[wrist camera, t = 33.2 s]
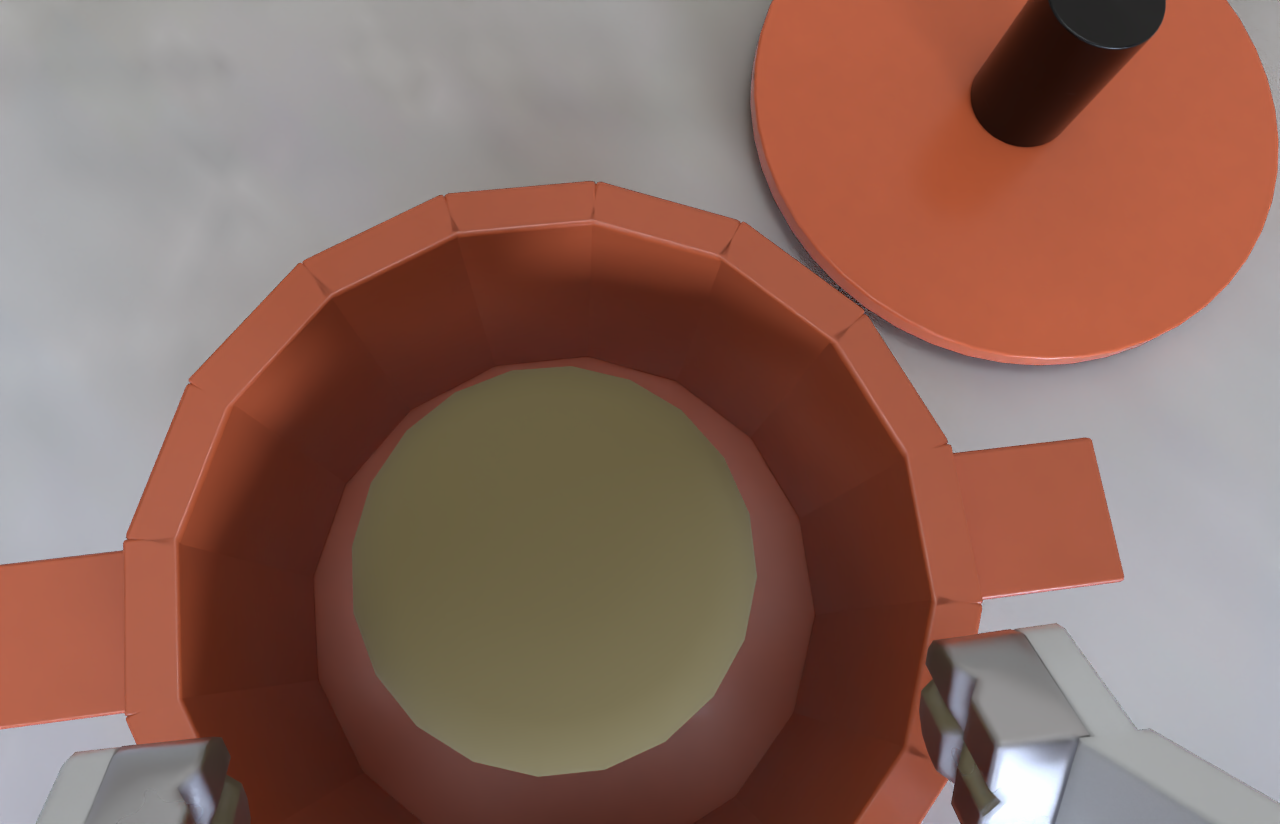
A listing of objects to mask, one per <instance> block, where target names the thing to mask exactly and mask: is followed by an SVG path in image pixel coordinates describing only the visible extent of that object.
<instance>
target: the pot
mask: <svg viewBox="0 0 1280 824" xmlns="http://www.w3.org/2000/svg"><path fill="white" fill-rule="evenodd" d="M864 312H865V311H864V309H862V308H861V307H860V306H858V305H857V304H856V303H854V302H853V301H852V300H850V299H849V298H847V297H846V296H845V295H843V294H842V293H841V292H839V291H838V290H837V289H835V288H834V287H832V286H831V285H830V284H828V283H827V282H826V281H824V280H823V279H822V278H820V277H819V276H818V275H816V274H815V273H813V272H812V271H811V270H809V269H808V268H807V267H805V266H804V265H803V264H801V263H800V262H798V261H797V260H796V259H794V258H793V257H792V256H790V255H789V254H788V253H786V252H785V251H783V250H782V249H781V248H779V247H778V246H777V245H775V244H774V243H773V242H771V241H770V240H769V239H767V238H766V237H764V236H763V235H762V234H760V233H759V232H758V231H756V230H755V229H754V228H752V227H751V226H749V225H748V224H747V223H745V222H742V223H740V221H738V220H736V219H732V218H729V217H725V216H722V215H718V214H714V213H711V212H707V211H704V210H700V209H696V208H693V207H689V206H686V205H682V204H679V203H675V202H671V201H668V200H664V199H661V198H657V197H653V196H650V195H646V194H643V193H639V192H635V191H632V190H628V189H625V188H621V187H618V186H614V185H610V184H607V183H603V182H597V184H595V182H593V181H585V182H573V183H562V184H550V185H539V186H528V187H516V188H505V189H494V190H482V191H471V192H460V193H448V194H446V195H445V197H444V196H443V195H439V196H437V197H435V198H433V199H431V200H428V201H426V202H424V203H422V204H420V205H418V206H416V207H414V208H412V209H410V210H408V211H406V212H403V213H401V214H399V215H397V216H395V217H393V218H391V219H389V220H387V221H385V222H383V223H381V224H378V225H376V226H374V227H372V228H370V229H368V230H366V231H364V232H362V233H360V234H358V235H356V236H353V237H351V238H349V239H347V240H345V241H343V242H341V243H339V244H337V245H335V246H333V247H331V248H328V249H326V250H324V251H322V252H320V253H318V254H316V255H314V256H312V257H310V258H308V259H306V260H304V261H303V264H302V263H299V264H297V266H296V267H295V268H294V269H293V270H292V271H291V272H290V273H289V274H288V275H287V276H286V277H285V278H284V279H283V280H282V281H281V282H280V283H279V284H278V286H277V287H276V288H275V289H274V290H273V291H272V292H271V293H270V294H269V295H268V296H267V297H266V298H265V299H264V300H263V301H262V302H261V303H260V305H259V306H258V307H257V308H256V309H255V310H254V311H253V312H252V313H251V314H250V315H249V316H248V317H247V318H246V319H245V320H244V321H243V322H242V324H241V325H240V326H239V327H238V328H237V329H236V330H235V331H234V332H233V333H232V334H231V335H230V336H229V337H228V338H227V339H226V340H225V341H224V342H223V344H222V345H221V346H220V347H219V348H218V349H217V350H216V351H215V352H214V353H213V354H212V355H211V356H210V357H209V358H208V359H207V360H206V361H205V363H204V364H203V365H202V366H201V367H200V368H199V369H198V370H197V371H196V372H195V373H194V374H193V375H192V376H191V377H190V378H189V382H190V383H191V384H188V385H187V386H186V388H185V390H184V393H183V395H182V398H181V400H180V403H179V405H178V408H177V410H176V413H175V415H174V418H173V420H172V423H171V425H170V428H169V430H168V432H167V435H166V437H165V440H164V442H163V445H162V447H161V450H160V452H159V455H158V457H157V460H156V462H155V465H154V467H153V470H152V472H151V475H150V477H149V480H148V482H147V484H146V487H145V489H144V492H143V494H142V497H141V499H140V502H139V504H138V507H137V509H136V512H135V514H134V517H133V519H132V522H131V524H130V527H129V529H128V531H127V534H126V538H127V540H125V541H124V543H123V550H122V551H114V552H105V553H97V554H88V555H80V556H71V557H63V558H54V559H46V560H37V561H29V562H20V563H12V564H3V565H0V729H7V728H14V727H22V726H30V725H37V724H45V723H52V722H60V721H68V720H75V719H83V718H90V717H98V716H105V715H113V714H121V713H125V715H126V716H127V718H126V721H127V724H128V726H129V728H130V730H131V733H132V735H133V737H134V739H135V742H136V744H137V745H139V744H148V743H157V742H167V741H176V740H185V739H195V738H204V737H222V739H223V741H224V743H225V745H226V747H227V750H228V752H229V754H230V756H231V759H230V762H229V766H228V770H227V773H226V774H227V775H228V776H230V777H232V778H234V779H235V780H237V781H239V782H240V783H242V785H243V788H244V790H245V793H246V796H247V798H248V804H249V810H250V816H251V823H250V824H920V823H921V822H922V820H923V819H924V817H925V816H926V814H927V812H928V811H929V809H930V808H931V806H932V805H933V803H934V802H935V800H936V798H937V797H938V795H939V794H940V792H941V791H942V789H943V787H944V786H945V784H946V783H947V781H948V780H949V779H947V778H946V777H944V776H943V775H942V774H940V773H939V772H937V771H936V770H935V767H934V765H933V763H932V761H931V758H930V756H929V754H928V752H927V748H926V745H925V742H924V739H923V735H922V730H921V722H920V714H919V707H920V698H921V690H922V689H923V688H924V687H925V686H926V685H927V684H928V683H929V682H930V681H931V680H932V679H933V678H932V676H931V674H930V672H929V670H928V668H927V666H926V664H925V663H926V657H927V651H928V648H929V646H930V644H931V643H932V641H933V640H939V639H946V638H953V637H960V636H967V635H974V634H978V629H979V623H980V618H981V612H982V605H981V603H982V601H983V600H985V599H993V598H1001V597H1008V596H1016V595H1023V594H1031V593H1039V592H1046V591H1054V590H1061V589H1069V588H1077V587H1084V586H1092V585H1099V584H1107V583H1114V582H1121V581H1122V580H1124V574H1123V570H1122V566H1121V561H1120V557H1119V553H1118V549H1117V545H1116V540H1115V536H1114V532H1113V528H1112V524H1111V519H1110V515H1109V511H1108V507H1107V503H1106V498H1105V494H1104V490H1103V486H1102V481H1101V477H1100V473H1099V469H1098V465H1097V460H1096V456H1095V452H1094V448H1093V444H1092V440H1091V439H1090V438H1079V439H1070V440H1062V441H1053V442H1045V443H1036V444H1028V445H1019V446H1011V447H1002V448H994V449H985V450H977V451H968V452H960V453H953V452H952V447H951V445H949V444H947V443H948V441H947V438H946V437H945V435H944V434H943V432H942V430H941V429H940V427H939V426H938V424H937V423H936V421H935V420H934V418H933V416H932V415H931V413H930V412H929V410H928V409H927V407H926V406H925V404H924V402H923V401H922V399H921V398H920V396H919V395H918V393H917V392H916V390H915V388H914V387H913V385H912V384H911V382H910V381H909V379H908V378H907V376H906V375H905V373H904V371H903V370H902V368H901V367H900V365H899V364H898V362H897V361H896V359H895V357H894V356H893V354H892V353H891V351H890V350H889V348H888V347H887V345H886V343H885V342H884V340H883V339H882V337H881V336H880V334H879V333H878V331H877V329H876V328H875V326H874V325H873V323H872V322H871V320H870V319H869V317H868V316H867V315H866V314H864ZM566 366H574V367H578V368H582V369H586V370H591V371H595V372H599V373H603V374H608V375H612V376H616V377H620V378H625V379H629V380H631V381H633V382H635V383H636V384H638V385H640V386H642V387H643V388H645V389H647V390H648V391H650V392H652V393H653V394H655V395H657V396H658V397H660V398H662V399H663V400H665V401H667V402H669V403H670V404H672V405H674V406H675V407H677V408H679V409H680V410H682V411H683V412H684V413H685V414H686V416H687V417H688V418H689V419H690V420H691V421H692V422H693V423H694V425H695V426H696V427H697V428H698V429H699V430H700V431H701V432H702V433H703V435H704V436H705V437H706V438H707V439H708V440H709V441H710V442H711V443H712V445H713V446H714V447H715V448H716V449H717V450H718V451H719V452H720V454H721V455H722V456H723V457H724V458H725V461H726V463H727V465H728V467H729V469H730V472H731V474H732V476H733V478H734V480H735V483H736V485H737V487H738V489H739V492H740V494H741V496H742V498H743V500H744V503H745V505H746V507H747V509H748V511H749V514H750V521H751V529H752V538H753V546H754V555H755V563H756V572H757V580H756V585H755V590H754V595H753V600H752V605H751V611H750V616H749V621H748V626H747V631H746V636H745V640H744V642H743V644H742V646H741V647H740V649H739V651H738V653H737V655H736V657H735V658H734V660H733V662H732V664H731V666H730V668H729V669H728V671H727V673H726V675H725V677H724V678H723V680H722V682H721V684H720V686H719V688H718V689H717V691H716V693H715V695H714V697H713V698H712V699H710V700H709V701H708V702H707V703H706V704H705V705H704V706H703V707H702V708H701V709H700V710H699V711H698V712H697V713H696V714H694V715H693V716H692V717H691V718H690V719H689V720H688V721H687V722H686V723H685V724H684V725H683V726H682V727H681V728H679V729H678V730H677V731H676V732H675V733H674V734H673V735H672V736H671V737H670V738H669V739H668V740H667V741H666V742H664V743H662V744H660V745H657V746H655V747H653V748H651V749H649V750H647V751H644V752H642V753H640V754H638V755H636V756H634V757H631V758H629V759H627V760H625V761H623V762H621V763H618V764H616V765H614V766H612V767H610V768H607V769H605V770H598V771H589V772H579V773H570V774H560V775H551V776H541V777H537V776H532V775H528V774H524V773H520V772H515V771H511V770H507V769H502V768H498V767H494V766H489V765H485V764H481V763H476V762H473V761H471V760H470V759H468V758H466V757H465V756H463V755H462V754H460V753H458V752H457V751H455V750H454V749H452V748H451V747H449V746H447V745H446V744H444V743H443V742H441V741H439V740H438V739H436V738H435V737H433V736H431V735H430V734H428V733H427V732H425V731H424V730H422V729H420V728H419V727H417V726H416V725H415V723H414V722H413V721H412V720H411V718H410V717H409V716H408V715H407V713H406V712H405V711H404V710H403V708H402V707H401V706H400V705H399V703H398V702H397V701H396V700H395V698H394V697H393V696H392V695H391V693H390V692H389V691H388V690H387V688H386V687H385V686H384V685H383V683H382V682H381V681H380V680H379V678H378V677H377V676H376V674H375V672H374V669H373V666H372V663H371V660H370V658H369V655H368V652H367V649H366V647H365V644H364V641H363V638H362V635H361V633H360V630H359V627H358V624H357V622H356V619H355V616H354V613H353V577H352V545H353V541H354V538H355V534H356V531H357V528H358V524H359V521H360V518H361V514H362V511H363V508H364V504H365V501H366V498H367V494H368V491H369V487H370V484H371V482H372V481H373V479H374V478H375V476H376V475H377V473H378V472H379V470H380V469H381V467H382V466H383V464H384V463H385V461H386V460H387V459H388V457H389V456H390V454H391V453H392V451H393V450H394V448H395V447H396V445H397V444H398V442H399V441H400V439H401V438H402V436H403V435H404V433H405V432H406V431H407V430H408V429H409V428H411V427H412V426H413V425H414V424H416V423H417V422H418V421H419V420H421V419H422V418H423V417H424V416H426V415H427V414H428V413H430V412H431V411H432V410H433V409H435V408H436V407H437V406H438V405H440V404H441V403H442V402H443V401H445V400H446V399H447V398H448V397H450V396H451V395H452V394H453V393H455V392H457V391H460V390H462V389H465V388H468V387H470V386H473V385H475V384H478V383H480V382H483V381H486V380H488V379H491V378H493V377H496V376H498V375H501V374H504V373H506V372H509V371H511V370H524V369H538V368H552V367H566Z"/></svg>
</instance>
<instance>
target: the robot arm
mask: <svg viewBox="0 0 1280 824" xmlns="http://www.w3.org/2000/svg"><path fill="white" fill-rule="evenodd" d="M925 664H926V666H927V668H928V670H929V672H930V674H931V676H932V678H933V679H932V680H931V681H930V682H929V683H928V684H927V685H926V686H925V687H924V688H923V689H922V690H921V698H920V707H919V714H920V722H921V730H922V735H923V739H924V742H925V745H926V748H927V752H928V754H929V756H930V758H931V761H932V763H933V765H934V767H935V770H936V771H937V772H939V773H940V774H942V775H943V776H944V777H946V778H947V779H949V780H950V781H951V782H953V783H954V784H955V785H954V791H953V796H952V802H951V804H952V806H953V808H954V810H955V813H956V815H957V817H958V819H959V821H960V823H961V824H1280V803H1278V802H1276V801H1275V800H1273V799H1271V798H1270V797H1268V796H1266V795H1264V794H1263V793H1261V792H1259V791H1257V790H1256V789H1254V788H1252V787H1250V786H1249V785H1247V784H1245V783H1244V782H1242V781H1240V780H1238V779H1237V778H1235V777H1233V776H1231V775H1230V774H1228V773H1226V772H1225V771H1223V770H1221V769H1219V768H1218V767H1216V766H1214V765H1212V764H1211V763H1209V762H1207V761H1205V760H1204V759H1202V758H1200V757H1199V756H1197V755H1195V754H1193V753H1192V752H1190V751H1188V750H1186V749H1185V748H1183V747H1181V746H1180V745H1178V744H1176V743H1174V742H1173V741H1171V740H1169V739H1167V738H1166V737H1164V736H1162V735H1161V734H1159V733H1157V732H1155V731H1154V730H1152V729H1142V730H1137V728H1136V727H1135V725H1134V724H1133V723H1132V721H1131V720H1130V718H1129V717H1128V716H1127V714H1126V713H1125V711H1124V710H1123V709H1122V707H1121V706H1120V704H1119V703H1118V702H1117V700H1116V699H1115V697H1114V696H1113V695H1112V693H1111V692H1110V691H1109V689H1108V688H1107V686H1106V685H1105V684H1104V682H1103V681H1102V679H1101V678H1100V677H1099V675H1098V674H1097V672H1096V671H1095V670H1094V668H1093V667H1092V665H1091V664H1090V663H1089V661H1088V660H1087V658H1086V657H1085V656H1084V654H1083V653H1082V652H1081V650H1080V649H1079V647H1078V646H1077V645H1076V643H1075V642H1074V640H1073V639H1072V638H1071V636H1070V635H1069V633H1068V632H1067V631H1066V629H1065V628H1063V627H1061V626H1060V625H1058V624H1057V623H1055V624H1048V625H1041V626H1033V627H1026V628H1019V629H1015V630H1011V629H1009V630H1002V631H995V632H988V633H981V634H974V635H967V636H960V637H953V638H946V639H939V640H933V641H932V643H931V644H930V646H929V648H928V651H927V657H926V663H925ZM230 759H231V756H230V754H229V752H228V750H227V747H226V745H225V743H224V741H223V739H222V737H204V738H195V739H185V740H176V741H167V742H157V743H148V744H139V745H129V746H122V747H116V748H107V749H99V750H90V751H81V752H75V753H74V754H73V755H72V756H71V757H70V758H69V759H68V760H67V761H66V762H65V763H64V764H63V765H62V767H61V769H60V771H59V773H58V776H57V778H56V780H55V782H54V784H53V786H52V789H51V791H50V793H49V795H48V797H47V799H46V802H45V804H44V806H43V808H42V810H41V813H40V815H39V817H38V819H37V821H36V823H35V824H250V823H251V816H250V810H249V804H248V798H247V796H246V793H245V790H244V788H243V785H242V783H240V782H239V781H237V780H235V779H234V778H232V777H230V776H228V775H227V774H226V773H227V770H228V766H229V762H230Z"/></svg>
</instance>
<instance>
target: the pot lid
mask: <svg viewBox="0 0 1280 824" xmlns="http://www.w3.org/2000/svg"><path fill="white" fill-rule="evenodd" d="M750 107H751V116H752V125H753V134H754V140H755V144H756V148H757V152H758V156H759V160H760V164H761V167H762V170H763V173H764V175H765V178H766V180H767V183H768V185H769V188H770V190H771V193H772V195H773V198H774V200H775V202H776V204H777V206H778V207H779V209H780V211H781V213H782V214H783V216H784V218H785V220H786V221H787V223H788V225H789V227H790V229H791V230H792V232H793V233H794V234H795V236H796V237H797V238H798V240H799V241H800V242H801V244H802V245H803V246H804V248H805V249H806V250H807V252H808V253H809V254H810V256H811V257H812V259H813V260H814V261H815V262H816V263H817V264H818V265H819V266H820V267H821V268H822V269H823V270H824V271H825V272H826V273H827V274H828V275H829V276H830V277H831V278H832V279H833V280H834V282H835V283H836V284H837V285H838V286H840V287H841V288H842V289H843V290H845V291H846V292H847V293H848V294H850V295H851V296H852V297H853V298H854V299H856V300H857V301H858V302H859V303H861V304H862V305H863V306H864V307H865V308H867V309H868V310H870V311H872V312H873V313H875V314H876V315H878V316H880V317H881V318H883V319H884V320H886V321H887V322H889V323H891V324H892V325H894V326H895V327H897V328H899V329H901V330H903V331H905V332H907V333H909V334H912V335H914V336H916V337H918V338H920V339H922V340H924V341H926V342H928V343H930V344H933V345H936V346H939V347H942V348H945V349H948V350H951V351H954V352H957V353H960V354H963V355H967V356H972V357H976V358H981V359H986V360H991V361H996V362H1001V363H1013V364H1026V365H1054V364H1073V363H1078V362H1083V361H1089V360H1094V359H1099V358H1105V357H1108V356H1111V355H1114V354H1117V353H1120V352H1123V351H1126V350H1129V349H1132V348H1135V347H1138V346H1140V345H1142V344H1144V343H1146V342H1148V341H1150V340H1152V339H1154V338H1156V337H1158V336H1160V335H1162V334H1164V333H1166V332H1168V331H1170V330H1172V329H1173V328H1175V327H1177V326H1179V325H1180V324H1182V323H1183V322H1185V321H1186V320H1187V319H1189V318H1190V317H1192V316H1193V315H1194V314H1196V313H1197V312H1199V311H1200V310H1201V309H1203V308H1204V307H1206V306H1207V305H1208V304H1209V303H1210V302H1211V301H1212V300H1213V299H1214V298H1215V297H1216V296H1217V295H1218V294H1219V293H1220V292H1221V291H1222V290H1223V289H1224V288H1225V287H1226V286H1227V285H1228V284H1229V283H1230V281H1231V280H1232V279H1233V277H1234V276H1235V275H1236V273H1237V272H1238V271H1239V269H1240V268H1241V267H1242V265H1243V264H1244V263H1245V261H1246V260H1247V258H1248V256H1249V254H1250V253H1251V251H1252V249H1253V247H1254V245H1255V243H1256V241H1257V239H1258V237H1259V236H1260V234H1261V232H1262V229H1263V226H1264V223H1265V221H1266V218H1267V215H1268V212H1269V209H1270V206H1271V203H1272V199H1273V193H1274V188H1275V182H1276V177H1277V170H1278V131H1277V122H1276V113H1275V107H1274V103H1273V99H1272V95H1271V91H1270V87H1269V83H1268V79H1267V76H1266V74H1265V71H1264V68H1263V66H1262V63H1261V61H1260V58H1259V55H1258V53H1257V50H1256V48H1255V46H1254V44H1253V43H1252V41H1251V39H1250V37H1249V35H1248V33H1247V31H1246V29H1245V28H1244V26H1243V24H1242V22H1241V20H1240V19H1239V17H1238V16H1237V15H1236V13H1235V12H1234V10H1233V9H1232V7H1231V6H1230V5H1229V3H1228V2H1227V0H773V1H772V3H771V4H770V7H769V10H768V13H767V16H766V18H765V21H764V24H763V27H762V30H761V33H760V36H759V39H758V43H757V47H756V53H755V58H754V63H753V69H752V74H751V101H750Z"/></svg>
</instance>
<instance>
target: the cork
mask: <svg viewBox="0 0 1280 824" xmlns="http://www.w3.org/2000/svg"><path fill="white" fill-rule="evenodd" d="M352 577H353V613H354V616H355V619H356V622H357V624H358V627H359V630H360V633H361V635H362V638H363V641H364V644H365V647H366V649H367V652H368V655H369V658H370V660H371V663H372V666H373V669H374V672H375V674H376V676H377V677H378V678H379V680H380V681H381V682H382V683H383V685H384V686H385V687H386V688H387V690H388V691H389V692H390V693H391V695H392V696H393V697H394V698H395V700H396V701H397V702H398V703H399V705H400V706H401V707H402V708H403V710H404V711H405V712H406V713H407V715H408V716H409V717H410V718H411V720H412V721H413V722H414V723H415V725H416V726H417V727H419V728H420V729H422V730H424V731H425V732H427V733H428V734H430V735H431V736H433V737H435V738H436V739H438V740H439V741H441V742H443V743H444V744H446V745H447V746H449V747H451V748H452V749H454V750H455V751H457V752H458V753H460V754H462V755H463V756H465V757H466V758H468V759H470V760H471V761H473V762H476V763H481V764H485V765H489V766H494V767H498V768H502V769H507V770H511V771H515V772H520V773H524V774H528V775H532V776H537V777H541V776H551V775H560V774H570V773H579V772H589V771H598V770H605V769H607V768H610V767H612V766H614V765H616V764H618V763H621V762H623V761H625V760H627V759H629V758H631V757H634V756H636V755H638V754H640V753H642V752H644V751H647V750H649V749H651V748H653V747H655V746H657V745H660V744H662V743H664V742H666V741H667V740H668V739H669V738H670V737H671V736H672V735H673V734H674V733H675V732H676V731H677V730H678V729H679V728H681V727H682V726H683V725H684V724H685V723H686V722H687V721H688V720H689V719H690V718H691V717H692V716H693V715H694V714H696V713H697V712H698V711H699V710H700V709H701V708H702V707H703V706H704V705H705V704H706V703H707V702H708V701H709V700H710V699H712V698H713V697H714V695H715V693H716V691H717V689H718V688H719V686H720V684H721V682H722V680H723V678H724V677H725V675H726V673H727V671H728V669H729V668H730V666H731V664H732V662H733V660H734V658H735V657H736V655H737V653H738V651H739V649H740V647H741V646H742V644H743V642H744V640H745V636H746V631H747V626H748V621H749V616H750V611H751V605H752V600H753V595H754V590H755V585H756V580H757V572H756V563H755V555H754V546H753V538H752V529H751V521H750V514H749V511H748V509H747V507H746V505H745V503H744V500H743V498H742V496H741V494H740V492H739V489H738V487H737V485H736V483H735V480H734V478H733V476H732V474H731V472H730V469H729V467H728V465H727V463H726V461H725V458H724V457H723V456H722V455H721V454H720V452H719V451H718V450H717V449H716V448H715V447H714V446H713V445H712V443H711V442H710V441H709V440H708V439H707V438H706V437H705V436H704V435H703V433H702V432H701V431H700V430H699V429H698V428H697V427H696V426H695V425H694V423H693V422H692V421H691V420H690V419H689V418H688V417H687V416H686V414H685V413H684V412H683V411H682V410H680V409H679V408H677V407H675V406H674V405H672V404H670V403H669V402H667V401H665V400H663V399H662V398H660V397H658V396H657V395H655V394H653V393H652V392H650V391H648V390H647V389H645V388H643V387H642V386H640V385H638V384H636V383H635V382H633V381H631V380H629V379H625V378H620V377H616V376H612V375H608V374H603V373H599V372H595V371H591V370H586V369H582V368H578V367H574V366H566V367H552V368H538V369H524V370H511V371H509V372H506V373H504V374H501V375H498V376H496V377H493V378H491V379H488V380H486V381H483V382H480V383H478V384H475V385H473V386H470V387H468V388H465V389H462V390H460V391H457V392H455V393H453V394H452V395H451V396H450V397H448V398H447V399H446V400H445V401H443V402H442V403H441V404H440V405H438V406H437V407H436V408H435V409H433V410H432V411H431V412H430V413H428V414H427V415H426V416H424V417H423V418H422V419H421V420H419V421H418V422H417V423H416V424H414V425H413V426H412V427H411V428H409V429H408V430H407V431H406V432H405V433H404V435H403V436H402V438H401V439H400V441H399V442H398V444H397V445H396V447H395V448H394V450H393V451H392V453H391V454H390V456H389V457H388V459H387V460H386V461H385V463H384V464H383V466H382V467H381V469H380V470H379V472H378V473H377V475H376V476H375V478H374V479H373V481H372V482H371V484H370V487H369V491H368V494H367V498H366V501H365V504H364V508H363V511H362V514H361V518H360V521H359V524H358V528H357V531H356V534H355V538H354V541H353V545H352Z"/></svg>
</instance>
